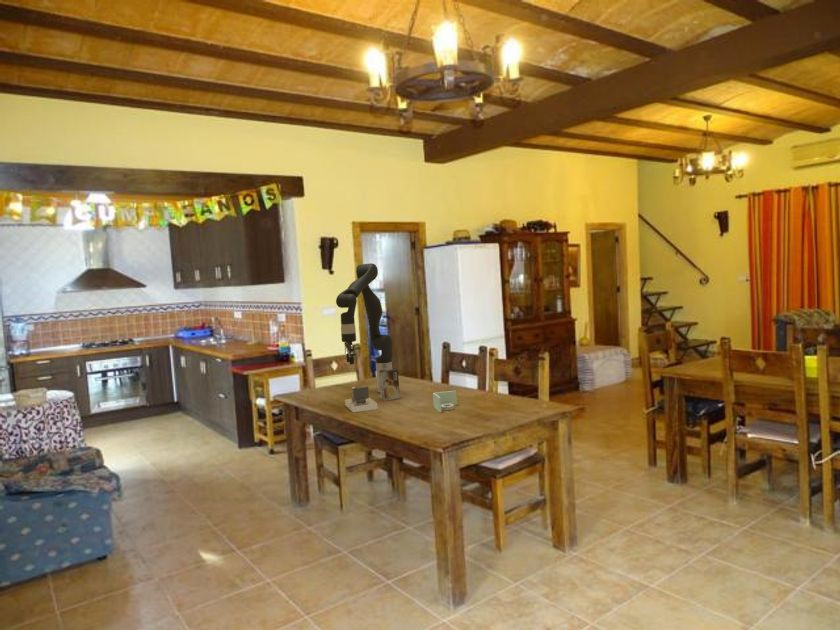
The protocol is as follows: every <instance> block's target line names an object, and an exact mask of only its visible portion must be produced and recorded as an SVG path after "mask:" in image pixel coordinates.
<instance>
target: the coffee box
mask: <svg viewBox="0 0 840 630" xmlns="http://www.w3.org/2000/svg"><path fill="white" fill-rule="evenodd" d="M379 377H380V390H381V393H380V399H381V400H383V401H384V402H386V401H393V400H397V399H398V400H399V399H401V394H400V382H399V370H398V369H396V368H392V369H386V370H379Z"/></svg>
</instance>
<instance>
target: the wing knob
mask: <svg viewBox="0 0 840 630" xmlns="http://www.w3.org/2000/svg"><path fill="white" fill-rule="evenodd" d="M351 391H352V393H351V394H352V395H353V400H356V402H357V403H363V402H366V399H368V398H369V397H370V392H369V386H357V387H355V386H352V387H351Z"/></svg>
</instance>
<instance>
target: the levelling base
mask: <svg viewBox="0 0 840 630" xmlns="http://www.w3.org/2000/svg"><path fill="white" fill-rule="evenodd" d="M344 406H345V407H347V409H348V410H349V411H351V413H359V412H366V411H374V410H378V402H376V401H375V400H373V398H371V397H370V396H369V398H368V399H366V402H363V403H357V402H356V400H353V394H352V395H351V398H346V399H344Z"/></svg>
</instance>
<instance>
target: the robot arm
mask: <svg viewBox="0 0 840 630" xmlns="http://www.w3.org/2000/svg"><path fill="white" fill-rule="evenodd" d="M355 270H356V273H355V274H356V277H357V279H355V280H354V281H352V282H351V283H350V285H348V287H347V288H345V290H343V291H341V292H340V293H339V294H338V295H337V296H336V299H335V304H336V306H337V307H338V308H341V309H345V308H346V309H347V311H345V312H342V313H341V314H340V332H341V333H340V334H341V335H340V336H341V342H342V343H343V344H344V354H345V355H346V357H345V358H346V359H345V360H346V363H349V364H350V365H354V364H355V357H356V355H355V354H356V353H355V344H353V342H356V341H357V334H356V333H357V331H356V324H355V312H356V307H357V303H358V300H357V298H358V297H359V296H360V295H362V298H363V302H364V309H365V312H366V316H367V323H368V327H369V333H370V334H369V335H370V344H371V346H372V348H373V350H375V351H381V354H380V355H378V356H377V357H375V371H376V386H377V387H376V388H377V392H378V393H380V394H381V390H380V377H379V370H386V369H393V363H392V362H393V361H392V358H393V339H392V336H390V335H389V334H381V331H380V323H381V319H382V318H383V317H382V316H383V307H382V302H381V300H380V298H379V297H378V296H377V294H376V293H375V292H374V291H373V290H372V289H371V287H370V286H369V284H372V282H373V281H374V280H376V278H377V277H378V275H379V271H378V267H377V265H376V264H375V263H362V264H357V266H356V269H355Z"/></svg>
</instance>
